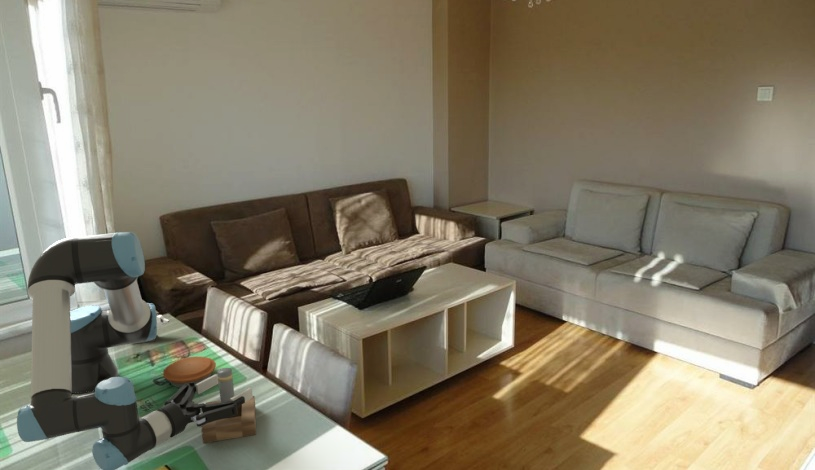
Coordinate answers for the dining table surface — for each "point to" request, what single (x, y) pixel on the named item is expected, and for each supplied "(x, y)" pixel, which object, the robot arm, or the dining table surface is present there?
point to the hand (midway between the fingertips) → (234, 385)
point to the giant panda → (160, 323)
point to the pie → (189, 370)
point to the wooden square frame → (232, 424)
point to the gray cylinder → (225, 385)
